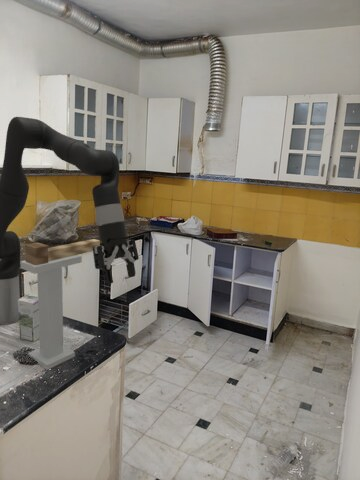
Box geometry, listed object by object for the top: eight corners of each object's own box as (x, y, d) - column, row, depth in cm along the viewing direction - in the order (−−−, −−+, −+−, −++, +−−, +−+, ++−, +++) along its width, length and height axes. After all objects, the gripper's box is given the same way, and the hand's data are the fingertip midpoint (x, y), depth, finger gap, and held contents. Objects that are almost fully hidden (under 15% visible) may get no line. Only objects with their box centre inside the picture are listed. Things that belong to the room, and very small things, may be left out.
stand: (66, 341, 129) (64, 250, 122) (85, 351, 124) (84, 257, 116) (22, 359, 117) (17, 260, 109) (41, 372, 111) (37, 268, 104)
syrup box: (44, 334, 133) (43, 295, 129) (33, 342, 127) (32, 302, 124) (30, 331, 134) (28, 293, 131) (19, 339, 129) (17, 299, 125)
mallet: (91, 247, 127) (91, 232, 126) (101, 250, 125) (102, 235, 123) (25, 261, 109) (25, 244, 108) (35, 265, 106) (35, 248, 105)
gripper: (120, 221, 113) (129, 275, 113) (81, 226, 101) (92, 286, 102) (138, 217, 108) (148, 274, 109) (99, 222, 97) (111, 285, 97)
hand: (121, 280), depth 105 cm, fingers open, 8 cm apart
